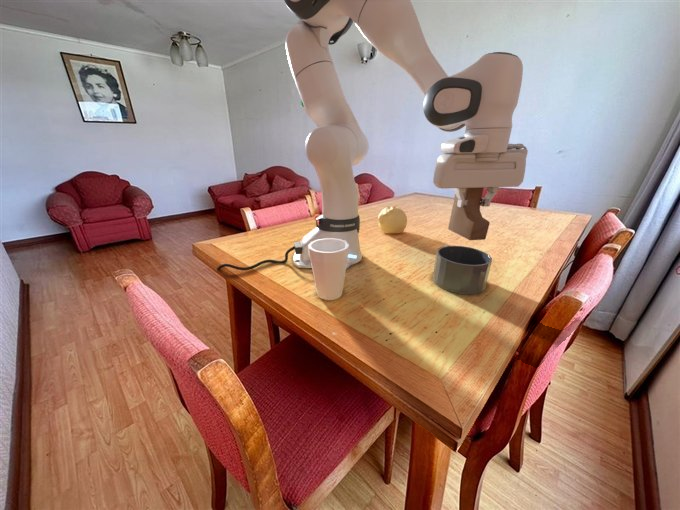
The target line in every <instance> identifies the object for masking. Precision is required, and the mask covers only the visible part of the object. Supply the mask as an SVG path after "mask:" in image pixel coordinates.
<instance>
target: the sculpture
mask: <svg viewBox="0 0 680 510" xmlns="http://www.w3.org/2000/svg"><path fill="white" fill-rule="evenodd" d="M407 217H408V216H407V214H406V212H405V211H404V210H403V209H402V208H399V207H396V206H395V205H393V206H385V208H383V209H382V210H381V212H380V213H378V217H377V224H378V229H380V230H381V231H382V233H384V234H401V233H403V232H404V231H405V229H406V228H407V224H408V218H407Z"/></svg>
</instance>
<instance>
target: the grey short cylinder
mask: <svg viewBox="0 0 680 510" xmlns="http://www.w3.org/2000/svg"><path fill="white" fill-rule="evenodd" d="M492 262H493V258H492V256H491V255H490V254H488V253H487V252H485V251H483V250H480V249H479V248H478V249H477V248H474V247H468V246H464V245H447V244H444V245H443V246H442V247H440V248H438V249H437V250H436V253H435V261H434V267H433V273H432V280H433V282H434V284H435V285H436V286H438V287H439V288H441V289H443V290H444V291H447V292H450V293H454V294H458V295H466V296H468V295H469V296H471V295H477V294H480V293H482V292H484V291H485V289H486V286H487V282H488V278H489V274H490V269H491V266H492Z"/></svg>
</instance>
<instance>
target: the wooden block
mask: <svg viewBox="0 0 680 510" xmlns="http://www.w3.org/2000/svg"><path fill="white" fill-rule="evenodd" d="M484 189H485V187H484V188H466V189H465V193H463V196H464V199H466V200H468V202H467V206H466V207H458V206H457V203H458V198H457V196H456V194H455V193H454V197H453V202H452V208H451V212H450V217H449V222H448V227H447V230H449V231H451V232H453V233H454V234H457V235H459V236H461V237H463V238H464V239H466V240H468V241H485V240H486V238H487V235H488V231H489V228H490V224H491V223H490V221H489V220H488V219H487V218H484V217H483V215H482V212H481V206H480V202H481V198H483V193H484Z"/></svg>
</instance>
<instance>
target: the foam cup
mask: <svg viewBox="0 0 680 510" xmlns="http://www.w3.org/2000/svg"><path fill="white" fill-rule="evenodd" d="M308 252H309V257H310V260H311V265H312V268H311V270H312V274H313V280H314V285H315V290H316V294H317V295H316V296H317V297H318V298H320V299H321V300H325V301H333V300H337V299H339V298H340V297H342V295H343V291H344V286H345V285H344V284H345V277H346V273H347V272H346V271H347V269H346V265H347V258H348V255H349V244H348V243H347V242H346V241H344V240H341V239H335V238H324V239H318V240H315V241H313V242H311V243H310V244H309V245H308Z"/></svg>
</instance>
